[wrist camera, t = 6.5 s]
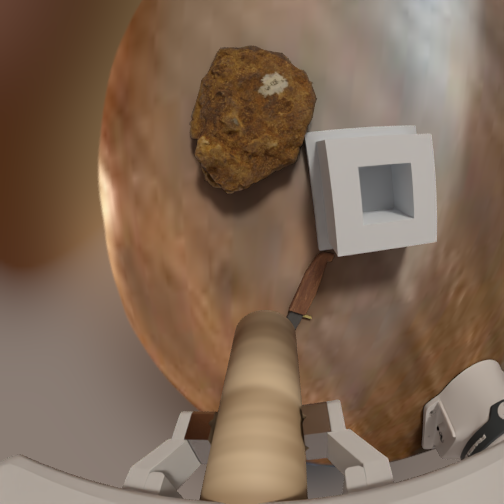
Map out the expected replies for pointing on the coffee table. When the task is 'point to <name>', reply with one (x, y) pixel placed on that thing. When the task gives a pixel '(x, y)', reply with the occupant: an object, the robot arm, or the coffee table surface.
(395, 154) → the socket
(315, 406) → the robot arm
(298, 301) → the knife
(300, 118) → the decorative rock
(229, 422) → the peg
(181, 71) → the coffee table surface
